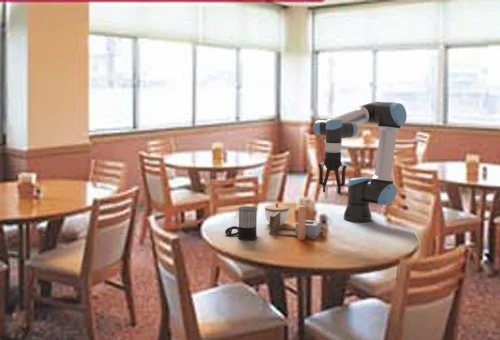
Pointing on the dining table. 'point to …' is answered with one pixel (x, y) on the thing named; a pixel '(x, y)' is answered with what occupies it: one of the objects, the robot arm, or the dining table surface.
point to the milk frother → (245, 224)
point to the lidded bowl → (277, 208)
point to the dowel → (301, 222)
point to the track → (276, 226)
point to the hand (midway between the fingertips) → (331, 199)
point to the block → (311, 228)
